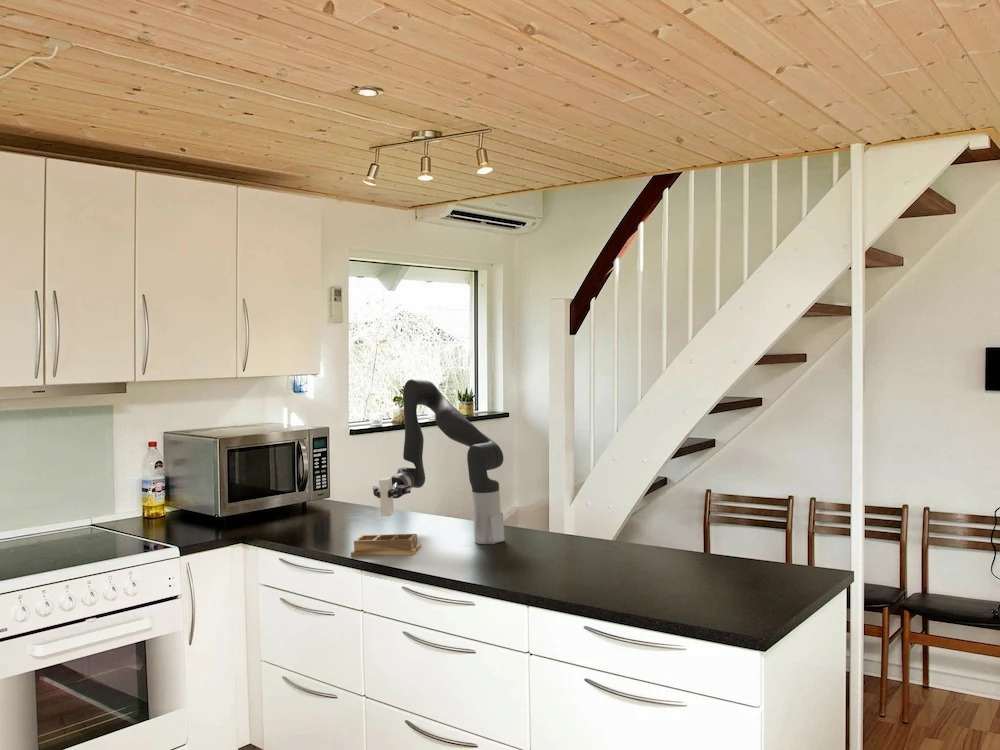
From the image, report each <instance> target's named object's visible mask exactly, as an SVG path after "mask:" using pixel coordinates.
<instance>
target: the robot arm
mask: <svg viewBox="0 0 1000 750" xmlns="http://www.w3.org/2000/svg"><path fill="white" fill-rule="evenodd" d="M402 393H403V394H402V395H403V397H402V400H403V417H404V420H403V421H404V443H403V444H404V445H403V455H402V456H403V460H404V461H407V462H409V463H412V464H413V465H414V467H406V466H405V467H404V466H403V467H400V468H399V469H398V470H397V473H396V474H393V475H392V476H391V477H390V478H392V489H391V490H389V491H388V498H391V497H392V496H393V499H399V498H401V497H403V496H405V495H408V494H411V489H412V488H413V489H414V488H415V489H420V488H422V487H423V486H424V485H425V482H426V474H425V468H424V462H423V455H424V454H423V453H424V434H423V431H422V429H421V428H422V427H421V426H420V423H419V420H418V414H417V410H418V409H417V407H418V405H419V406H426V407H427V408H429V409H430V410H431V411H432V412H433V413H434V414H435V415H434V417H435V419H434V420H435V423H436V426H437V427H438V428H439V430H440V431H441V432H442V433H444V435H445V436H446V437H448V438H449V439H450V440H452V441H454V442H457V443H459V444H462V445H464V446H467V447H469V448H468V449H467V450H468V451H467V454H466V455H467V456H466V459H467V461H466V462H467V468H468V479H469V483H470V486H471V495H472V510H473V511H472V512H473V513H472V514H473V528H474V529H473V531H474V542H475V544H479V545H494V544H498V543H501V542H504V541H505V529H504V528H505V526H504V525H505V523H504V512H502V511H501V494H500V483H499V481H498V480H496V479H492V478H490V477H489V475H488V471H491V470H495V469H498V468H500V467H501V466H502V464H503V463H504V454H503V450H502V449H501V447H500V446H499V444H498V443H496V442H495V441H494V440H492V439H491V438H490V437H488V436H487V435H486V434H484V433H483V432H482V431H481V430H480V429H478V427H476V425H474V424H473V423H472V422H471V421H470V420H468V418H466V417H465V415H463V413H461V411H459V410H458V409H457V408H456V407H455V406H454V405H453V404H452V403H451V402H450V401H449V400H448V399H446V397H445V396H444V395H443V393H441V391H440V390H439V389H438V387H437V386H436V385H435V383H433V382H432V381H429V380H427V379H426V380H425V379H418V378H411V379H409V380H407V381H406V382H405V384H404V387H403V392H402ZM372 492H373V495H374V497H377V498H378V499H380V490H379V486H376V485H374V486H372Z"/></svg>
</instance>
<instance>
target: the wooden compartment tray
mask: <svg viewBox="0 0 1000 750" xmlns="http://www.w3.org/2000/svg"><path fill="white" fill-rule="evenodd" d="M421 548H422V543H418V534H417V533H403V534H402V533H396V534H395V533H393V534H392V533H391V534H362V535H360V536H359V537H357V538H356V539H355V540H353V550H351V552H350V557H370V556H371V557H374V556H375V557H376V556H378V557H379V556H414V555H415V554H416V553H417V552H418V551H419V550H420V549H421Z"/></svg>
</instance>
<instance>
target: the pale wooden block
mask: <svg viewBox="0 0 1000 750" xmlns="http://www.w3.org/2000/svg"><path fill="white" fill-rule="evenodd" d="M378 488H379V490H380V498H379V501H380V502H379V504H380V516H381V517H391V516H392V515H394V514H395V510H394V498H393V496H392V497H391V498H388V491H389V490H391V489H392V478H391V477H382V478H380V479H379V480H378Z"/></svg>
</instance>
